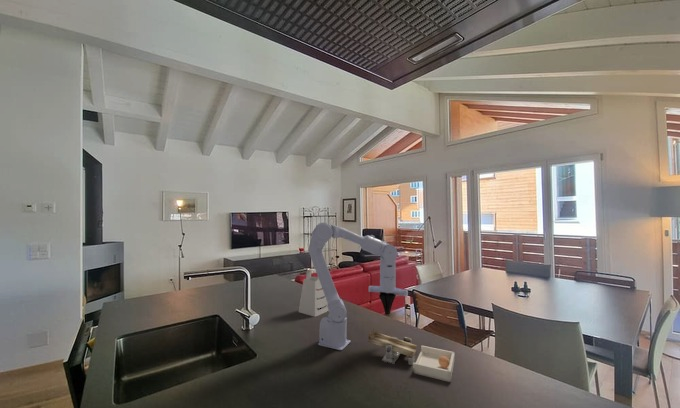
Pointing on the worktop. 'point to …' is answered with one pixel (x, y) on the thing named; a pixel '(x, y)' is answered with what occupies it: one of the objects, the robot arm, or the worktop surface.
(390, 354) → the pivot base
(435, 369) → the dish
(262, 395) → the worktop surface
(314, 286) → the grater
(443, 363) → the egg
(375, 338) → the lever
